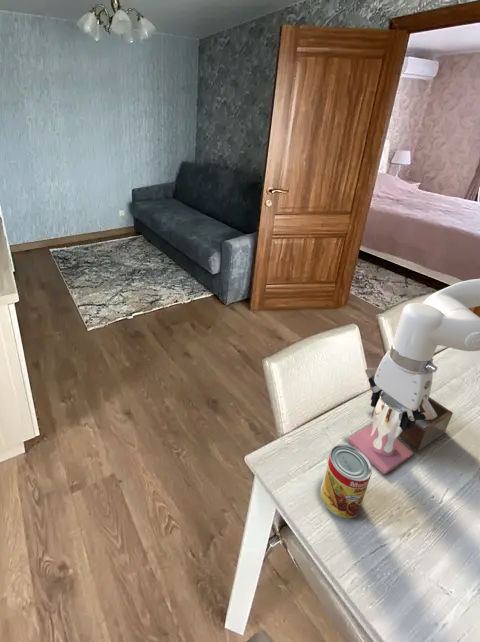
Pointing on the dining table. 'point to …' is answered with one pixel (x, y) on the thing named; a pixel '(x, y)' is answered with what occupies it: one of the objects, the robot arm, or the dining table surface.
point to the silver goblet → (386, 424)
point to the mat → (377, 460)
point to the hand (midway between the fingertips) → (390, 415)
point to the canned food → (345, 480)
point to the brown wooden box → (427, 427)
